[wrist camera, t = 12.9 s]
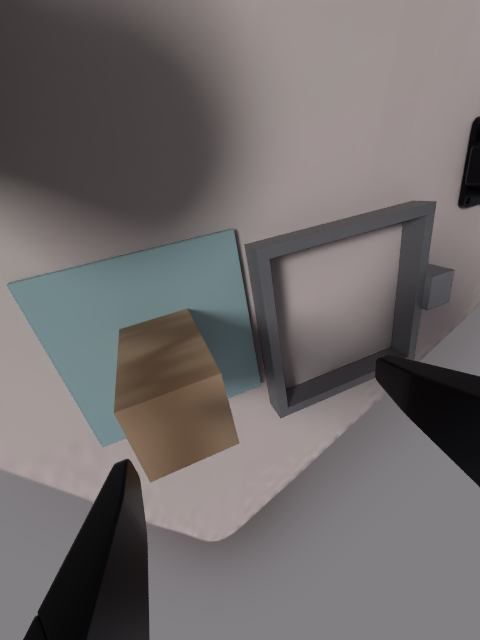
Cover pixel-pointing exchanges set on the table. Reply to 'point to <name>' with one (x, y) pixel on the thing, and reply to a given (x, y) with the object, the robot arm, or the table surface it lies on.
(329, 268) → the table surface
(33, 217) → the table surface
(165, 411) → the walnut plug block
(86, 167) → the table surface
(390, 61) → the table surface
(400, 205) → the gray rectangular frame
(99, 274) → the rubber mat
